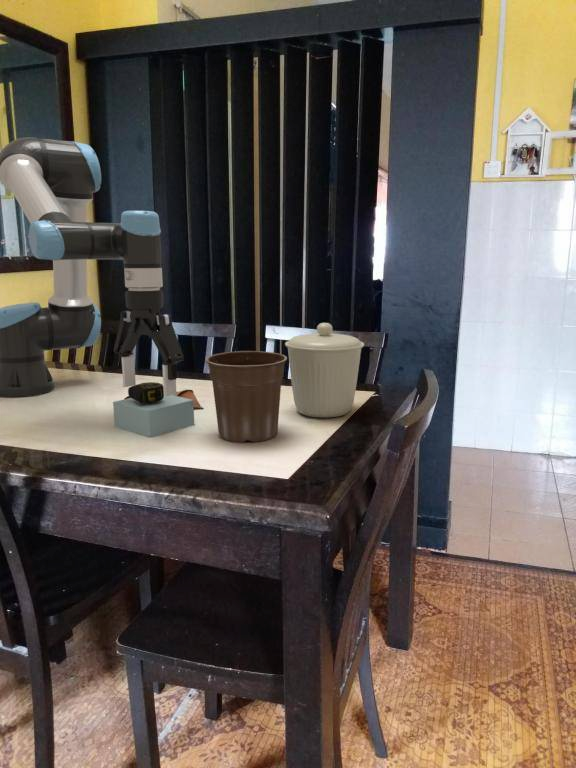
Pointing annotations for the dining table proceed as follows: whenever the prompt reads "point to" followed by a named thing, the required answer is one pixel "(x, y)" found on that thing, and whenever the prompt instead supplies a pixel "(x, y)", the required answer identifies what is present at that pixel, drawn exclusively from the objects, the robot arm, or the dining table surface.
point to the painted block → (154, 415)
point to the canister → (324, 372)
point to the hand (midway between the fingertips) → (149, 390)
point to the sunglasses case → (186, 394)
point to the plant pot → (247, 393)
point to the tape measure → (147, 392)
